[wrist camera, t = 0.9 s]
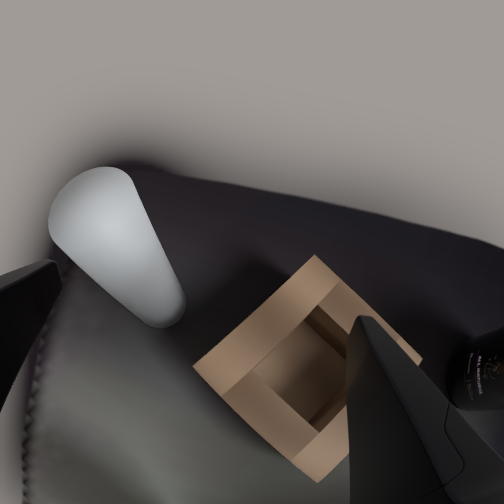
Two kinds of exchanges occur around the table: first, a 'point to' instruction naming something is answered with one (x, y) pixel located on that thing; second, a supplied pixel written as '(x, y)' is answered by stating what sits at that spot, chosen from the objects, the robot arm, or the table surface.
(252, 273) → the table surface
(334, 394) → the socket block
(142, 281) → the peg
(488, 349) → the supplement bottle
